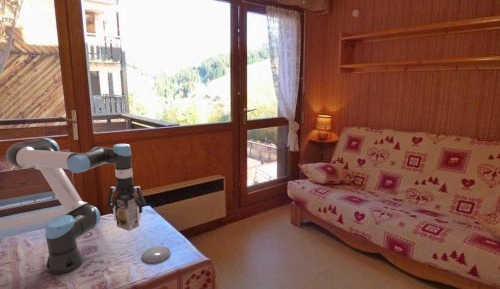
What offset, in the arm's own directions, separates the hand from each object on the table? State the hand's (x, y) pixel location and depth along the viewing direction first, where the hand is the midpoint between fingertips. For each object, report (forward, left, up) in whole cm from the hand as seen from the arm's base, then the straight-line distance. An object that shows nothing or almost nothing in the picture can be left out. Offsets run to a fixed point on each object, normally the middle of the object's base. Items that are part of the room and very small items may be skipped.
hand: (127, 219), depth 145 cm
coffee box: (0, 0, -4) cm, 4 cm away
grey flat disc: (+12, +1, -21) cm, 24 cm away
